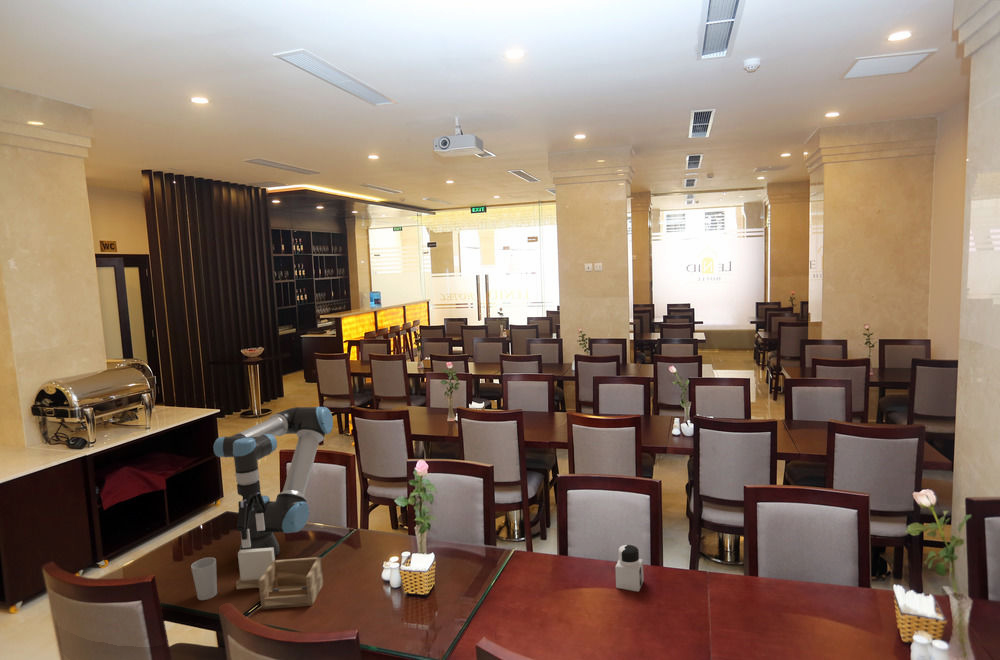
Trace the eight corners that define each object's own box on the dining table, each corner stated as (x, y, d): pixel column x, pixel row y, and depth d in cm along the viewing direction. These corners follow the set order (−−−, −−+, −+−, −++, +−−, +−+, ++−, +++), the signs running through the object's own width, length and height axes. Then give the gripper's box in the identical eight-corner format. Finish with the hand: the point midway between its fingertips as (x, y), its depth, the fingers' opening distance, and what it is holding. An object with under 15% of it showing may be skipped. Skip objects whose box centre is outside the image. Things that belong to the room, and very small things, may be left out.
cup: (209, 602, 204) (205, 569, 203) (189, 600, 205) (185, 568, 204) (224, 589, 212) (221, 557, 210) (205, 588, 213) (201, 557, 212)
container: (643, 580, 200) (642, 544, 199) (639, 592, 193) (637, 554, 192) (621, 576, 204) (619, 540, 202) (615, 588, 197) (614, 551, 195)
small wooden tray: (242, 581, 216) (241, 575, 216) (281, 578, 217) (281, 572, 216) (236, 589, 211) (235, 582, 211) (277, 586, 212) (276, 579, 211)
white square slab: (244, 583, 215) (240, 549, 214) (277, 580, 216) (273, 547, 214) (241, 587, 213) (237, 553, 211) (274, 584, 213) (271, 550, 212)
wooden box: (275, 586, 211) (273, 560, 210) (323, 583, 212) (320, 556, 211) (261, 609, 197) (258, 581, 196) (312, 605, 198) (309, 577, 197)
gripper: (251, 470, 222) (256, 524, 224) (222, 495, 197) (228, 555, 199) (271, 469, 222) (276, 523, 224) (244, 493, 197) (251, 554, 200)
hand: (254, 538), depth 212 cm, fingers open, 13 cm apart
